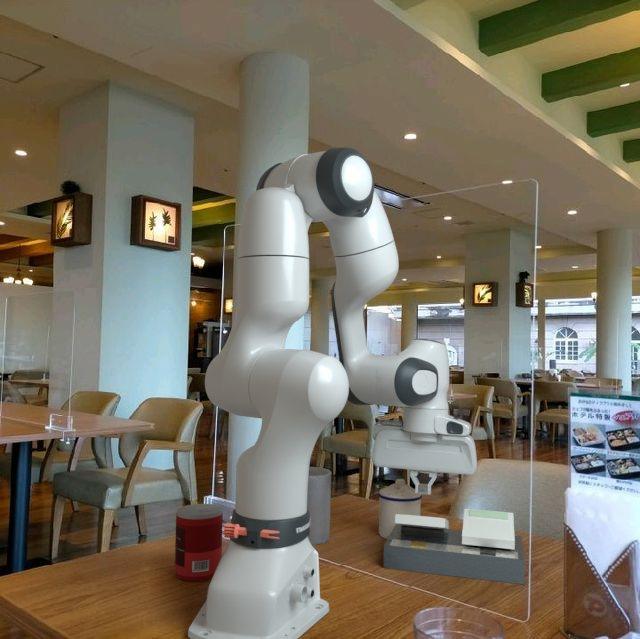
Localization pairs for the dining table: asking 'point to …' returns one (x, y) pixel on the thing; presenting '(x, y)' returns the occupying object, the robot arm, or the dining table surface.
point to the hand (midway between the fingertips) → (423, 493)
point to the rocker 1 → (422, 521)
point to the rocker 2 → (488, 529)
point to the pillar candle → (319, 504)
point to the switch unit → (451, 555)
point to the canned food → (198, 541)
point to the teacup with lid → (396, 505)
